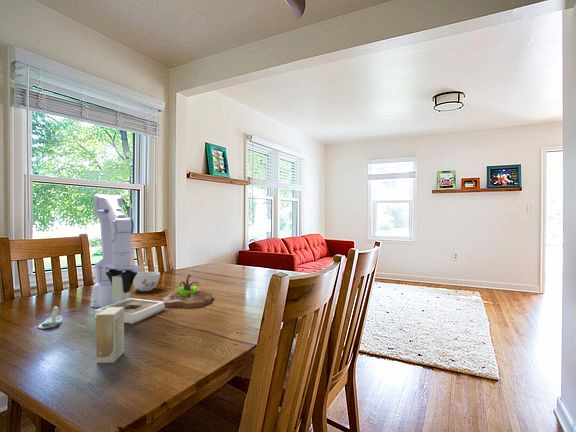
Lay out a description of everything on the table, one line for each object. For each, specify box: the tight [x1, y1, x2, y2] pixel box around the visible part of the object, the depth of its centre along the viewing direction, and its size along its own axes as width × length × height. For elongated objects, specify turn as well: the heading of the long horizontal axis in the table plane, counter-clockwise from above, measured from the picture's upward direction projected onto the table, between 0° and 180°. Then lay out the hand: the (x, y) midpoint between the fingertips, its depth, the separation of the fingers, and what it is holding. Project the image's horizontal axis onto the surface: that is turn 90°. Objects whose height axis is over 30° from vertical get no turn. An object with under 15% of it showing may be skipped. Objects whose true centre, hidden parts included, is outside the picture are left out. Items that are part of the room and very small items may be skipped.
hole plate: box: [113, 301, 156, 313], centre depth 116 cm, size 14×14×2 cm
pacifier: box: [37, 305, 63, 330], centre depth 103 cm, size 7×6×6 cm
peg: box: [112, 274, 131, 301], centre depth 111 cm, size 4×4×8 cm
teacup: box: [132, 271, 161, 292], centre depth 153 cm, size 15×12×8 cm
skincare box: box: [95, 307, 125, 364], centre depth 81 cm, size 6×4×12 cm
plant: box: [160, 274, 213, 309], centre depth 134 cm, size 20×20×11 cm
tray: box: [94, 297, 165, 324], centre depth 116 cm, size 16×16×3 cm
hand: (121, 291), depth 111 cm, fingers closed on peg, 4 cm apart
